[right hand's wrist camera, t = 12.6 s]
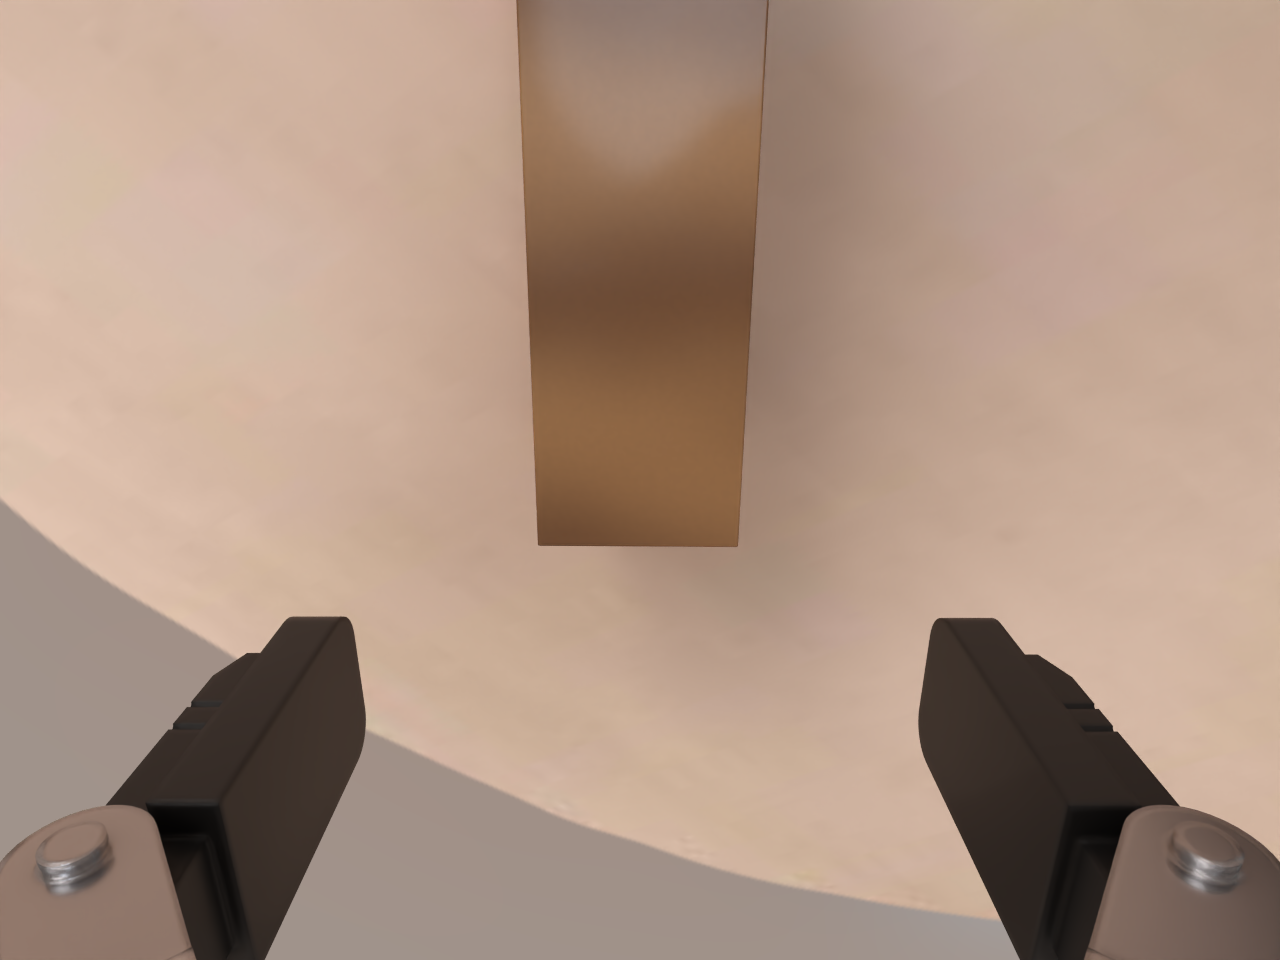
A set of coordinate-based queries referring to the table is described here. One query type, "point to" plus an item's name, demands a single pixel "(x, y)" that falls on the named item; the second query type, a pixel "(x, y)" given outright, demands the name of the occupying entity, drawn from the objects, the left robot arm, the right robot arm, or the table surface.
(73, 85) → the table surface
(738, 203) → the box
